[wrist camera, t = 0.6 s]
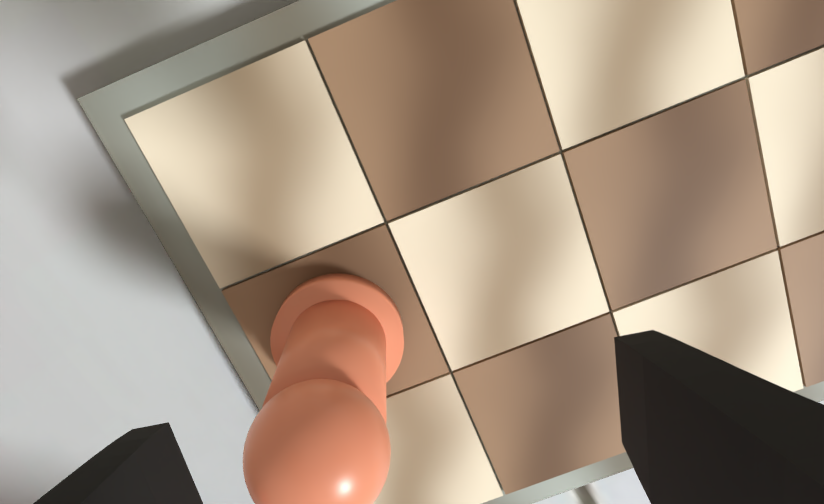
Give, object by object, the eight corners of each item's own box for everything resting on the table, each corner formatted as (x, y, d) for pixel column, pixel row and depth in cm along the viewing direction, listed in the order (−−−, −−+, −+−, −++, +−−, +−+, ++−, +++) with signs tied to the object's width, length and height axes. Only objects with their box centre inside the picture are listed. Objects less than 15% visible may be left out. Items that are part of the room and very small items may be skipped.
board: (353, 547, 23) (351, 572, 22) (93, 97, 17) (73, 99, 16) (960, 329, 21) (993, 344, 20) (917, -267, 15) (961, -296, 14)
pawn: (309, 405, 19) (260, 614, 12) (252, 302, 18) (157, 463, 10) (422, 362, 19) (446, 548, 11) (373, 253, 18) (364, 384, 10)
